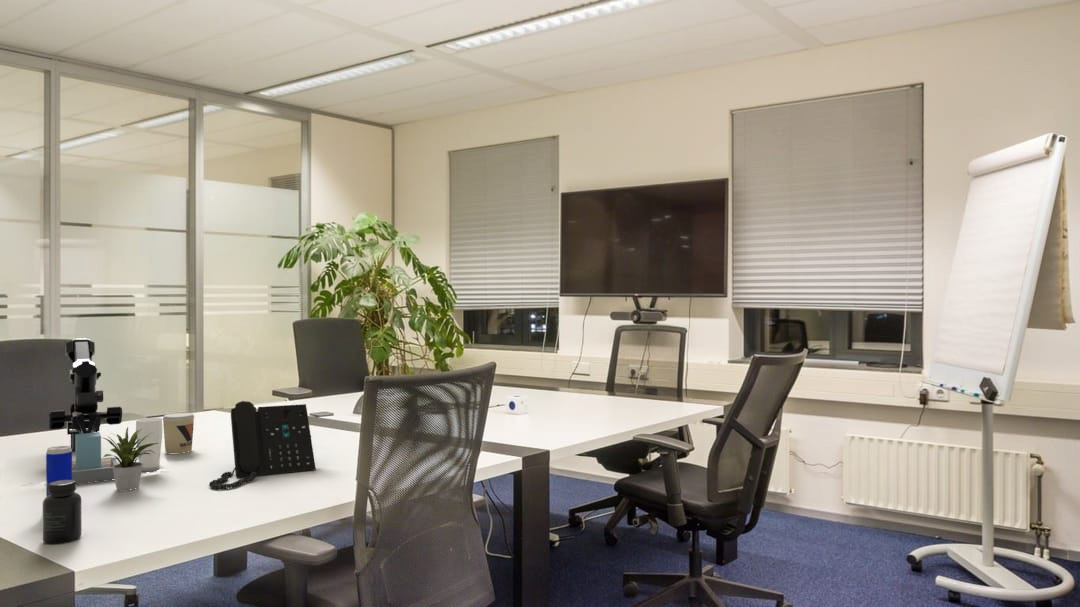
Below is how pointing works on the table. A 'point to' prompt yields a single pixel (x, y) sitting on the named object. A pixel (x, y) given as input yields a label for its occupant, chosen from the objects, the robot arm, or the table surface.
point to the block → (88, 450)
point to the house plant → (128, 461)
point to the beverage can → (58, 464)
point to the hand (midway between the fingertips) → (87, 440)
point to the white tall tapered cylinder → (146, 428)
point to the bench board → (103, 462)
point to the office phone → (268, 442)
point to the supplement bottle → (62, 513)
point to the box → (94, 474)
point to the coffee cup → (178, 432)
